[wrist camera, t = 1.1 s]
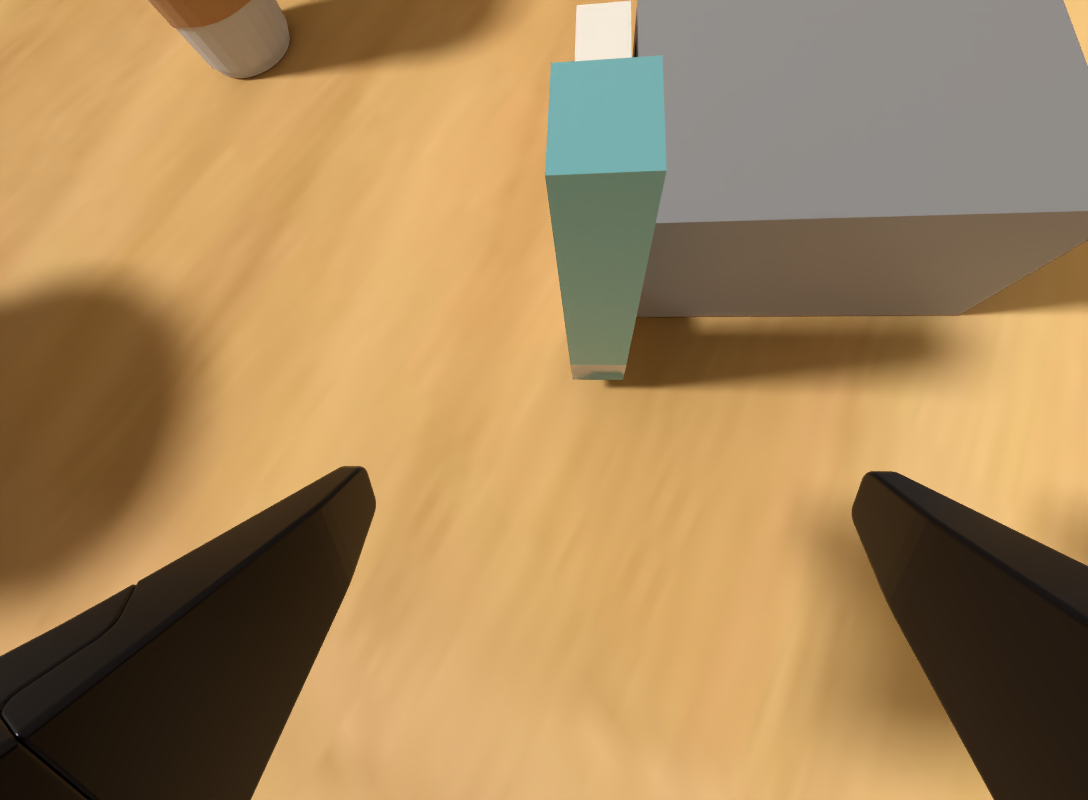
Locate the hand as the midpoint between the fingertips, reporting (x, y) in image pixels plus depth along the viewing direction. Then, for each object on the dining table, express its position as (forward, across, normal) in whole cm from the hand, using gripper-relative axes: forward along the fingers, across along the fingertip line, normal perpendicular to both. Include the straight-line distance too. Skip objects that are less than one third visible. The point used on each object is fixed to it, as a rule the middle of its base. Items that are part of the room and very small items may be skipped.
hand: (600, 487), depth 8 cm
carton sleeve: (+21, -10, -2) cm, 23 cm away
